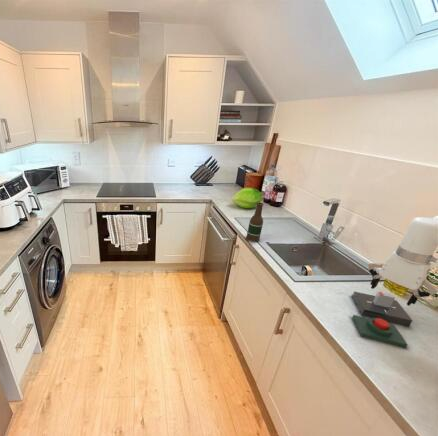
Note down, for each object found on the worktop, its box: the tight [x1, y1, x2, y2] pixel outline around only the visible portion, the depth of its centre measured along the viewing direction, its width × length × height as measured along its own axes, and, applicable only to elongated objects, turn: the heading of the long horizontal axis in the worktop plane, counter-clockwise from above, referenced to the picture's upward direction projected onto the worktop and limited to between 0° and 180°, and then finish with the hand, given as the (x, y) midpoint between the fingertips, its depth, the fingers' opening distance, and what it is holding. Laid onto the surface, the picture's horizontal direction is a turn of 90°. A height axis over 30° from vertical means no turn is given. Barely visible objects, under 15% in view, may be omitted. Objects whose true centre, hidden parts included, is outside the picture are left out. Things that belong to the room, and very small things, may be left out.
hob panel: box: [351, 291, 413, 327], centre depth 93 cm, size 14×11×3 cm
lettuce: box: [230, 187, 263, 209], centre depth 195 cm, size 19×25×17 cm
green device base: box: [351, 314, 409, 349], centre depth 83 cm, size 12×9×4 cm
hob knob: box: [373, 291, 396, 308], centre depth 91 cm, size 5×2×5 cm, turn 68°
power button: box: [374, 318, 390, 330], centre depth 82 cm, size 4×4×2 cm
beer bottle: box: [246, 202, 264, 243], centre depth 143 cm, size 8×8×24 cm
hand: (390, 295), depth 84 cm, fingers open, 9 cm apart
